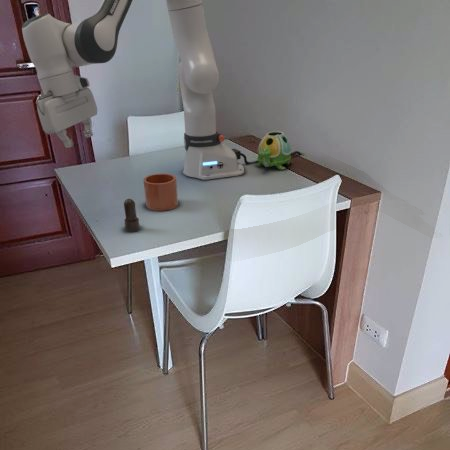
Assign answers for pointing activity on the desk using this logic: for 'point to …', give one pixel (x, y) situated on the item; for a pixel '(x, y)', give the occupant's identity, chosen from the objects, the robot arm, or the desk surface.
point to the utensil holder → (160, 192)
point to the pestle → (131, 216)
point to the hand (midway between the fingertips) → (79, 141)
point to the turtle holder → (274, 150)
